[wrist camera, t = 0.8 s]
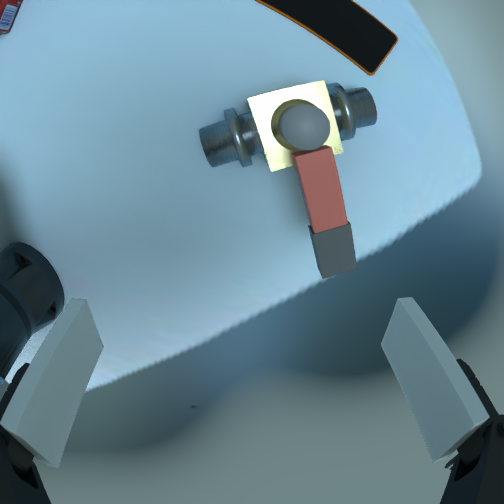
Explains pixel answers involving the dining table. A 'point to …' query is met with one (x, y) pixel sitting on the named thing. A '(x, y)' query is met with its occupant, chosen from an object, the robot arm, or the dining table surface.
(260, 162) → the dining table surface
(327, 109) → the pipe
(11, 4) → the box
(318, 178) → the lever
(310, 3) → the smartphone
